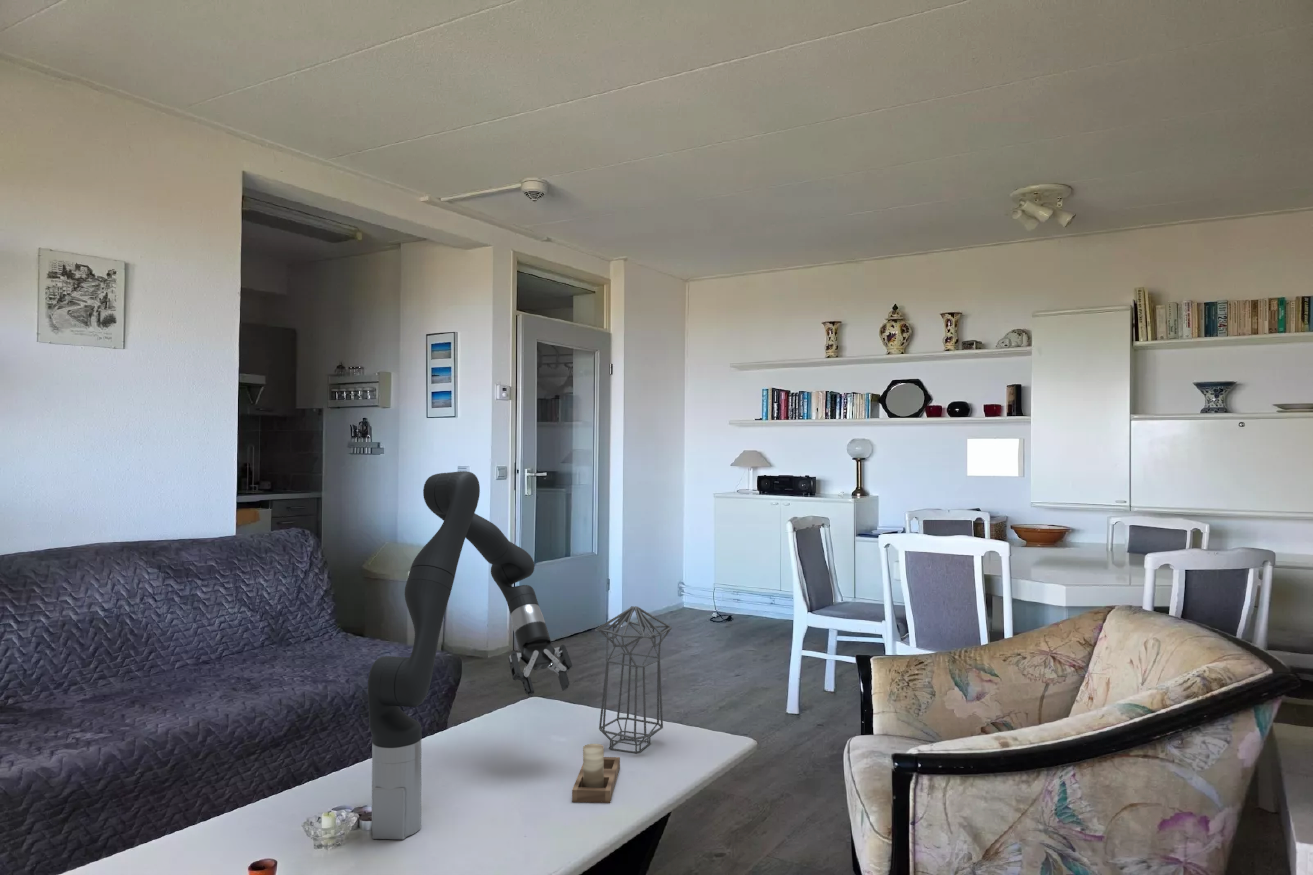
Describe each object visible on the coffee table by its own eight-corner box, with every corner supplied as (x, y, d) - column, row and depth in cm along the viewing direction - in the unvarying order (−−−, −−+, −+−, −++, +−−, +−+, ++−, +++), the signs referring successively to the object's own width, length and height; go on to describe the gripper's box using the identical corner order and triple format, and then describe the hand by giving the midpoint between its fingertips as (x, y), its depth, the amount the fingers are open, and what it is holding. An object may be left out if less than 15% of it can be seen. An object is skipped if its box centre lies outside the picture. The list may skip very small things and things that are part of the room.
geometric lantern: (618, 733, 224) (621, 599, 225) (672, 743, 217) (676, 605, 218) (587, 751, 210) (591, 608, 211) (644, 762, 203) (648, 614, 204)
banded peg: (602, 798, 181) (602, 750, 181) (581, 797, 181) (581, 750, 182) (604, 790, 186) (604, 743, 186) (584, 789, 186) (584, 743, 186)
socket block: (610, 802, 179) (610, 790, 179) (572, 802, 179) (572, 790, 179) (619, 768, 199) (619, 757, 199) (585, 767, 199) (585, 756, 199)
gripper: (507, 623, 196) (525, 689, 188) (562, 617, 204) (582, 680, 195) (496, 639, 201) (514, 704, 192) (551, 632, 209) (570, 694, 200)
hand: (548, 692), depth 194 cm, fingers open, 8 cm apart
